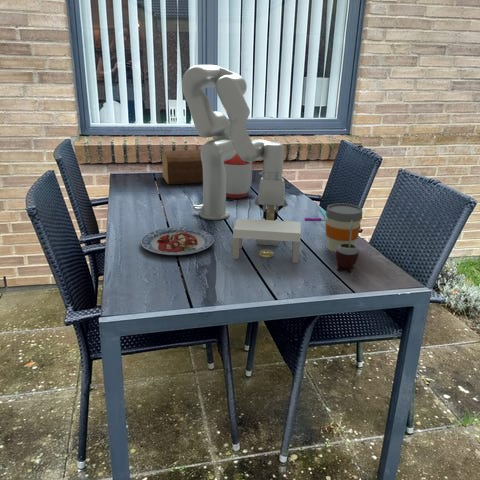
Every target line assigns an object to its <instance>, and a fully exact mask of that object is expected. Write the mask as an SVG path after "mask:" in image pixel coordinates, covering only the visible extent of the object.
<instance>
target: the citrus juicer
mask: <svg viewBox="0 0 480 480" xmlns="http://www.w3.org/2000/svg"><path fill="white" fill-rule="evenodd" d="M253 163H254V161H253V162H248V163H247V162H245V161H243V160H242V159H241V158H240V157H239V155H238V153H236V154H235V156H234V157H233V158H231V159H229V160H227V161H224V167H225V170H226V198H231V199H241V198H245V197H247V196H248V195H249V193H250V189H251V187H252V186H251V185H252V181H253V180H252V179H253V177H252V176H253V171H254V170H255V168H254V166H253Z"/></svg>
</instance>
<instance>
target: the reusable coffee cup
mask: <svg viewBox="0 0 480 480" xmlns="http://www.w3.org/2000/svg"><path fill="white" fill-rule="evenodd" d="M325 211H326V212H325V214H326V216H327V221H325V234H326V235H325V236H326V237H327V238H326V239H327V249H328V250H329V251H330V250H331V251H330V252H333V253H336V251H337V248H338V247H339V245H341V244H344V243H346V244H349V238H350V229H351V220H353V226H352V229H353V230H352V236H351V244H352V245H354V246H355V243H356V240H357V239H358V236H359V233H360V229H361V221H362V219H363V209H362V207H360V206H358V205H355V204H351V203H344V202H342V203H340V202H339V203H338V202H337V203H332V204H329V205H327V207H326V210H325Z"/></svg>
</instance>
